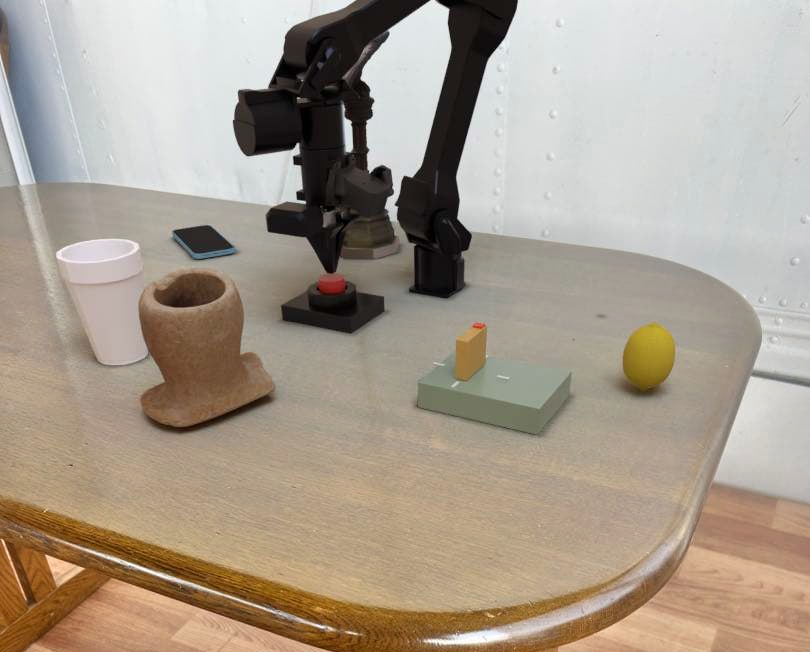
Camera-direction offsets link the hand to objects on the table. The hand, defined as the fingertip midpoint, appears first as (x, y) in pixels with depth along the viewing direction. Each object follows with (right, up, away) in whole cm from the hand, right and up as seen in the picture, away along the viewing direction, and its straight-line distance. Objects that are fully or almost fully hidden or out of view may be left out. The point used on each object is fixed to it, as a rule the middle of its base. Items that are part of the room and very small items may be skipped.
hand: (331, 272), depth 108 cm
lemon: (+37, -19, -16) cm, 45 cm away
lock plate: (+20, -20, -18) cm, 34 cm away
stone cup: (-11, -21, -18) cm, 30 cm away
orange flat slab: (+17, -17, -19) cm, 31 cm away
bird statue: (+2, +12, +27) cm, 29 cm away
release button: (0, -2, +1) cm, 2 cm away
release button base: (0, -5, +4) cm, 6 cm away
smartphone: (-25, +15, +31) cm, 43 cm away
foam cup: (-26, -13, -6) cm, 29 cm away
